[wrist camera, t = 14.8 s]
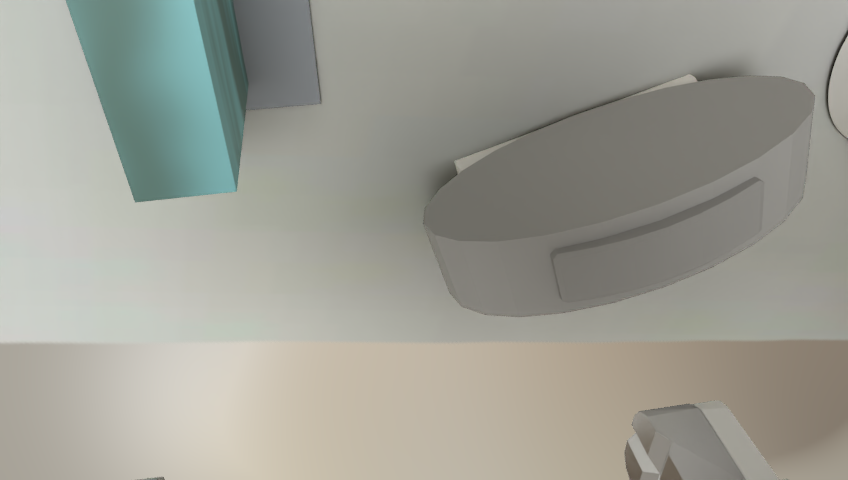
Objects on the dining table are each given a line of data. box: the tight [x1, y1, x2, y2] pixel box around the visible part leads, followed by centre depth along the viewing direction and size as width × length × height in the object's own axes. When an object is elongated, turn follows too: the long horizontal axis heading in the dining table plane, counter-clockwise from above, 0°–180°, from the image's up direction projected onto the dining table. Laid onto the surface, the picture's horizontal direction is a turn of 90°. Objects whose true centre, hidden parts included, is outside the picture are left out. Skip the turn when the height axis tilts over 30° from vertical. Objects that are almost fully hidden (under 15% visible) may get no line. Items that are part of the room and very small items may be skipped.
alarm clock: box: [423, 74, 815, 317], centre depth 37 cm, size 23×6×13 cm, turn 107°
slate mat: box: [99, 0, 321, 110], centre depth 32 cm, size 12×11×1 cm
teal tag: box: [66, 0, 249, 202], centre depth 27 cm, size 4×8×12 cm, turn 1°
